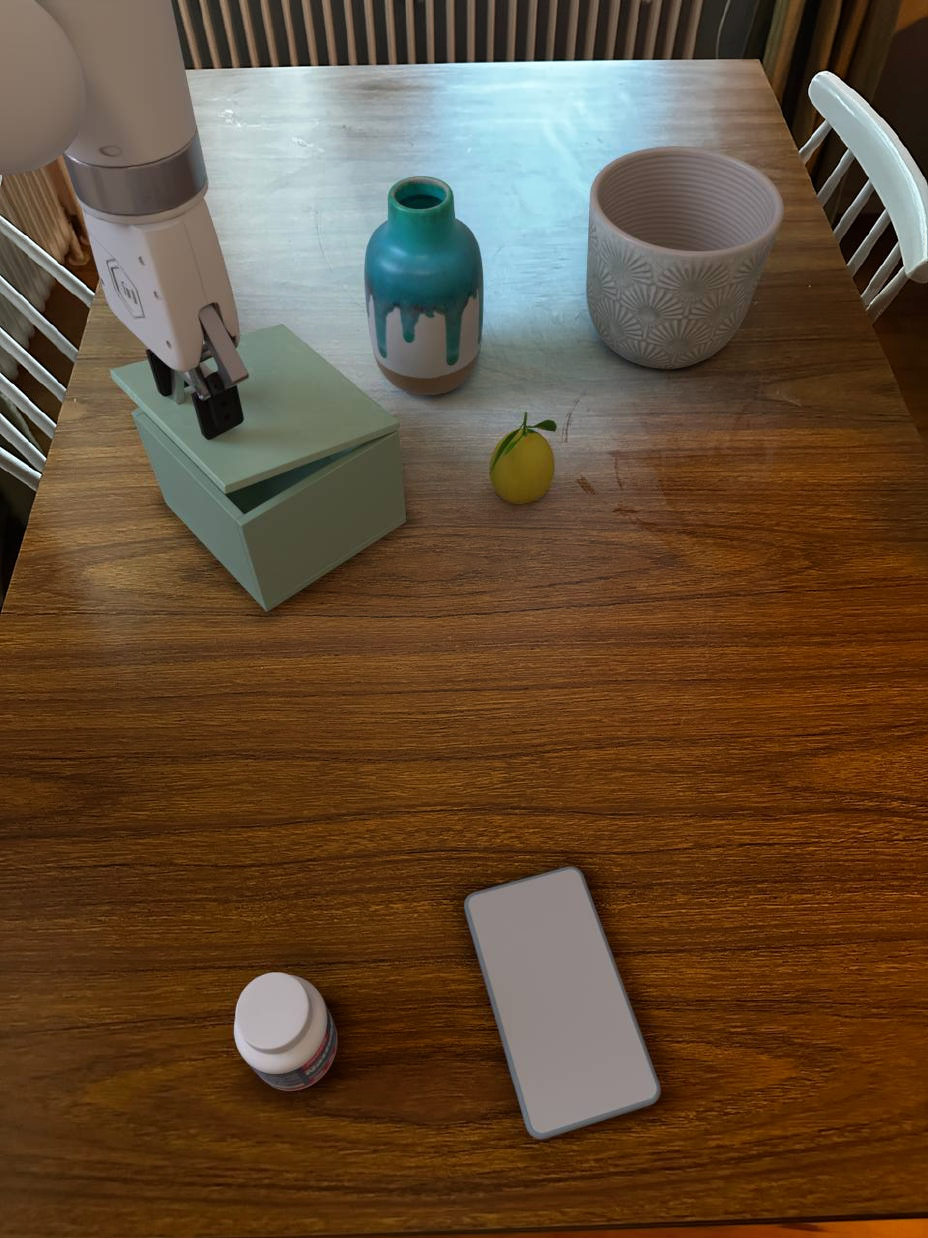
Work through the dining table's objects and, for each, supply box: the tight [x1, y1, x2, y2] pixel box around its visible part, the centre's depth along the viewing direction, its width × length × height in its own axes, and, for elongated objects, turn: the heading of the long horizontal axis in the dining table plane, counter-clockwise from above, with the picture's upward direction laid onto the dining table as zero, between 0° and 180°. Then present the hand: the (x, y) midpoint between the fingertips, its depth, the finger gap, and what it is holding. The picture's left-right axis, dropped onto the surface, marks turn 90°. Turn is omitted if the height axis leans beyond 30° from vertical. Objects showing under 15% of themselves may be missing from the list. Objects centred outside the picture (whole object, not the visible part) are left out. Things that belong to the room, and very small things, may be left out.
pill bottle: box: [233, 971, 338, 1092], centre depth 55 cm, size 5×5×9 cm
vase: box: [363, 175, 485, 396], centre depth 85 cm, size 11×11×19 cm
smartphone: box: [463, 866, 661, 1141], centre depth 60 cm, size 8×1×15 cm
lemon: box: [489, 411, 558, 505], centre depth 80 cm, size 7×6×10 cm
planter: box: [585, 145, 785, 370], centre depth 90 cm, size 17×17×15 cm
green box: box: [130, 406, 407, 613], centre depth 79 cm, size 15×16×11 cm
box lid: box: [110, 323, 400, 494], centre depth 71 cm, size 15×16×6 cm
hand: (201, 405), depth 69 cm, fingers closed on box lid, 5 cm apart
